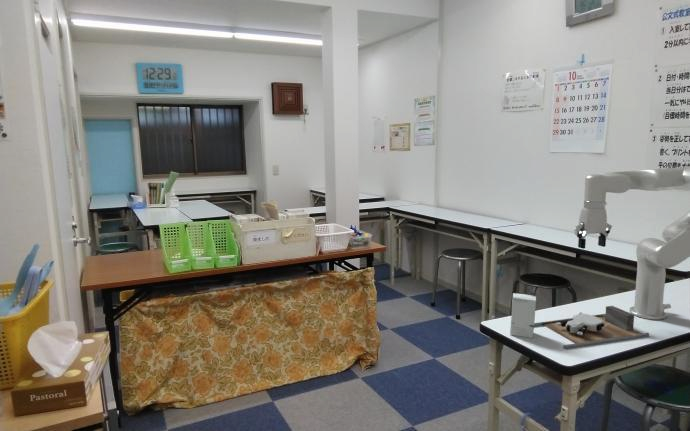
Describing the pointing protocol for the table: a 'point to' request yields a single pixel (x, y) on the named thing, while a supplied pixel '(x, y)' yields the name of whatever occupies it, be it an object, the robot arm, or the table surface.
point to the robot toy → (583, 324)
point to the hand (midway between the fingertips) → (591, 247)
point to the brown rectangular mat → (618, 327)
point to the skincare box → (523, 315)
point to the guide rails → (595, 340)
